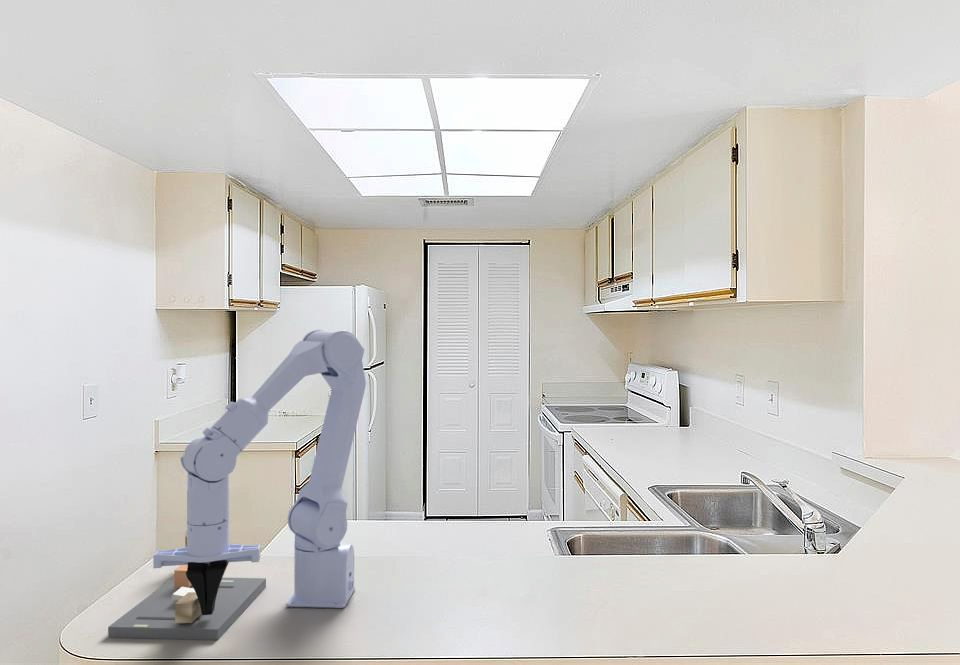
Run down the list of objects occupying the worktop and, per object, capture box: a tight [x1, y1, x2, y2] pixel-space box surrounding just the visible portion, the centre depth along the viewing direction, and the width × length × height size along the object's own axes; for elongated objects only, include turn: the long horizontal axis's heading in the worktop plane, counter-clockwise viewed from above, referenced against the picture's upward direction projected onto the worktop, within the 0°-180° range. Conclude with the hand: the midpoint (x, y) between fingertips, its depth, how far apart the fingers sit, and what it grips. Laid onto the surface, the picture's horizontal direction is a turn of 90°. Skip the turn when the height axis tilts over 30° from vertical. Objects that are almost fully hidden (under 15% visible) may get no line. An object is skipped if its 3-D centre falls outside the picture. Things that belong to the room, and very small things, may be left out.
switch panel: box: [107, 576, 267, 641], centre depth 105 cm, size 16×19×2 cm
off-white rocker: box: [172, 587, 196, 601], centre depth 104 cm, size 5×3×1 cm, turn 88°
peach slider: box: [173, 565, 191, 588], centre depth 110 cm, size 2×3×3 cm
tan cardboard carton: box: [175, 592, 202, 623], centre depth 98 cm, size 2×4×3 cm, turn 178°
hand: (208, 612), depth 98 cm, fingers closed
